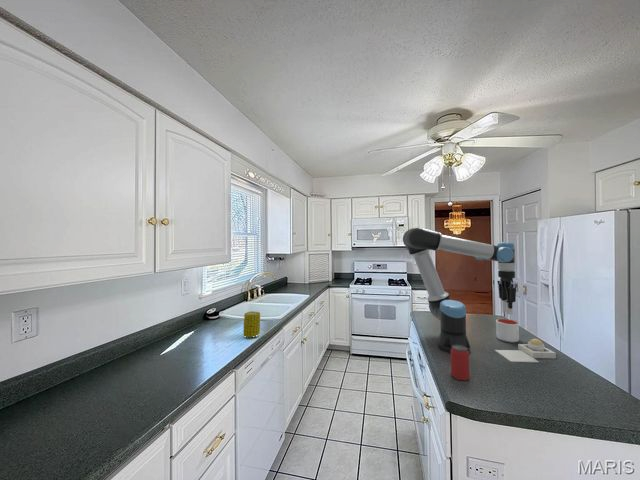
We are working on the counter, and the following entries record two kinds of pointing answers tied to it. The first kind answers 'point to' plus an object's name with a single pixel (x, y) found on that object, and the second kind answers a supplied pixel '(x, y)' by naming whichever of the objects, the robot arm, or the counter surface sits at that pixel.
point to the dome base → (537, 352)
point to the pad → (516, 356)
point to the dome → (535, 345)
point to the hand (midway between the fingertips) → (507, 313)
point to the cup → (507, 330)
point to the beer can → (460, 362)
